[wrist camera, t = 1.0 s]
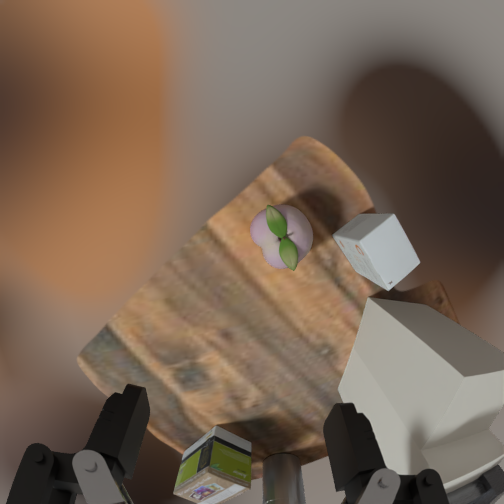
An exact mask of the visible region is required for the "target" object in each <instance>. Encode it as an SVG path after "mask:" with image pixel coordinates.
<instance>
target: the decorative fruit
mask: <svg viewBox="0 0 504 504" xmlns="http://www.w3.org/2000/svg"><path fill="white" fill-rule="evenodd" d="M250 232H251V237H252V239H253V241H254V242H255V243H256V244H257V245H258V246H260V247H261V248H262V251H263V256H264V258H265V260H266V262H267V263H268V264H270V265H271V266H273V267H275V268H279V269H285V268H290V269H291V270H293V271H294V270H295V269H296V267H297V263H299V262H300V261H301V260H302V259H303V258H304V257H305V256H306V255H307V254H308V252H309V251H310V249H311V247H312V243H313V231H312V227H311V225H310V223H309V221H308V220H307V218H306V216H305V215H304V214H303V213H302V212H301V211H299V210H298V209H297V208H295V207H293V206H290V205H275V206H270V205H267V208H266V209H264V210H262V211H260V212H259V213H258V214H257V215H256V216H255V217H254V219H253V221H252V223H251V227H250Z"/></svg>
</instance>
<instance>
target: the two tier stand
mask: <svg viewBox="0 0 504 504" xmlns="http://www.w3.org/2000/svg"><path fill="white" fill-rule="evenodd" d="M338 391H339V393H340V396H341V398H342V400H343V403H349V402H352V403H353V404H354V405H355V408H356V410H357V413H363V414H364V415H365V416H366V417H367V418H368V419H369V421H370V423H371V426H372V429H373V432H374V434H375V439H377V442H378V445H379V448H380V451H381V453H382V456H383V459H384V462H385V465H386V466H387V468H388V469H392V470H394V471H395V472H396V473H397V474H400V475H417V474H418V473H420V472H421V471H422V470H424V469H434V470H436V471H437V472H438V473H439V475H440V477H441V480H442V483H443V486H444V489H445V492H446V494H447V493H449V492H452V491H454V490H456V489H458V488H460V487H462V486H464V485H466V484H468V483H470V482H472V481H474V480H476V479H478V478H479V477H480V476H481V475H482V474H483V473H484V472H486V471H488V470H490V469H491V468H493V467H495V466H496V465H498V464H499V463H500V462H501V460H502V459H503V458H504V445H503V444H502V443H501V442H500V441H499V439H498V438H497V437H496V436H495V435H494V434H493V433H492V432H491V431H490V430H489V427H490V426H491V424H492V423H493V421H494V419H495V418H496V416H497V415H498V413H499V411H500V409H501V408H502V406H503V405H504V352H502V351H501V350H499V349H497V348H496V347H494V346H493V345H491V344H490V343H488V342H487V341H485V340H483V339H482V338H480V337H479V336H477V335H476V334H474V333H472V332H470V331H469V330H467V329H466V328H464V327H462V326H461V325H459V324H458V323H456V322H454V321H453V320H451V319H449V318H448V317H446V316H444V315H443V314H441V313H439V312H438V311H436V310H434V309H433V308H431V307H429V306H427V305H426V304H417V303H409V302H401V301H394V300H386V299H379V298H371V297H368V298H367V302H366V306H365V309H364V313H363V316H362V320H361V323H360V326H359V330H358V333H357V336H356V339H355V342H354V345H353V348H352V351H351V354H350V357H349V360H348V363H347V366H346V368H345V371H344V374H343V377H342V379H341V382H340V384H339V387H338Z"/></svg>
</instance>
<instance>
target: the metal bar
mask: <svg viewBox="0 0 504 504" xmlns="http://www.w3.org/2000/svg"><path fill="white" fill-rule="evenodd" d="M503 494H504V471H503V470H502V469H501V467H500V466H499V465H496V466H495V467H493V468H491V469H490V470H488V471H486V472H484V473H483V474H482V475H481V476H480V477H479V478H478V479H476V480H474V481H472V482H470V483H468V484H466V485H464V486H462V487H460V488H458V489H456V490H454V491H452V492H449V493H447V494H446V495H447V498H448V501H449V504H494V503H495V502H496V501H497V500H498V499H499V498H500V497H501V496H502V495H503Z"/></svg>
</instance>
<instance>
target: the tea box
mask: <svg viewBox="0 0 504 504" xmlns="http://www.w3.org/2000/svg"><path fill="white" fill-rule="evenodd" d="M250 488H251V442H249V441H247V440H245V439H243V438H241V437H239V436H237V435H235V434H233V433H231V432H229V431H227V430H225V429H223V428H221V427H219V426H217V425H216V426H215V427H214V428H213V429H211V430H210V431H209V432H208V433H207V434H206V435H204V436H203V437H202V438H201V439H199V440H198V441H197V442H196V443H195V444H193V445H192V446H191V447H190V448H188V449H187V450H186V451H185V452H184V455H183V458H182V463H181V466H180V470H179V473H178V477H177V481H176V485H175V489H174V493H173V494H175V495H178V496H180V497H183V498H185V499H188V500H190V501H193V502H195V503H198V504H222V503H224V502H226V501H228V500H230V499H232V498H234V497H236V496H238V495H240V494H242V493H244V492H245V491H247V490H250Z"/></svg>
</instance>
